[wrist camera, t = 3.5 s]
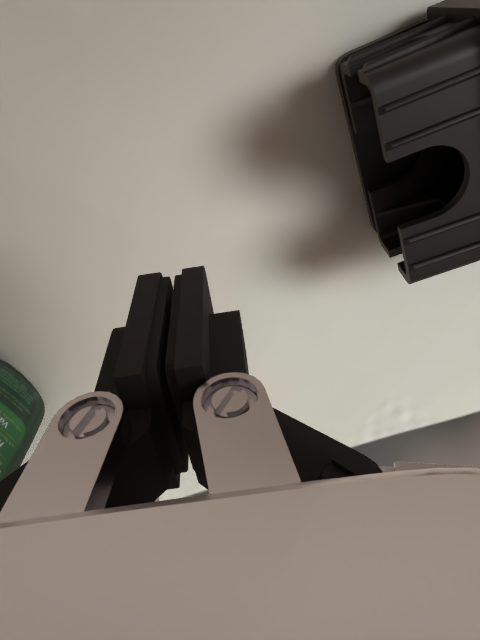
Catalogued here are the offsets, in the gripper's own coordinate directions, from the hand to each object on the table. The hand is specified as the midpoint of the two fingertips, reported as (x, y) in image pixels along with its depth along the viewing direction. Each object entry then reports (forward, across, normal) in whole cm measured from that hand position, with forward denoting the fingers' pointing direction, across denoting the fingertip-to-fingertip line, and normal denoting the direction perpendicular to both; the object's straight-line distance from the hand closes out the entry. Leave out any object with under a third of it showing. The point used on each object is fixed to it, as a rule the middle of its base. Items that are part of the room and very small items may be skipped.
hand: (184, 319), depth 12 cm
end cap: (+13, -12, 0) cm, 18 cm away
